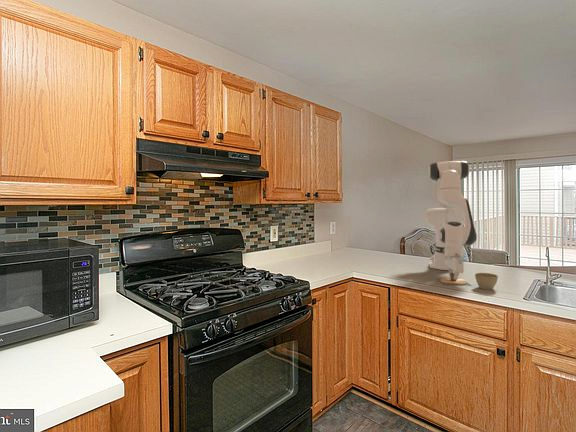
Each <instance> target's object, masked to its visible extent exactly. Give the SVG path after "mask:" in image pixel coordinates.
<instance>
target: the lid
mask: <svg viewBox="0 0 576 432" xmlns="http://www.w3.org/2000/svg"><path fill="white" fill-rule="evenodd" d="M439 279H440V281H441V282H442V283H445V284H450V285H449V286H456V285H465V284H467V283H468V281H467V280H465V279H463V278H458V280H455V279H454V272H453V273H451V276H450V277H443V278H439ZM441 282H440V283H441ZM442 283H441V284H442Z"/></svg>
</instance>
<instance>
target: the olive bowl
mask: <svg viewBox="0 0 576 432" xmlns="http://www.w3.org/2000/svg"><path fill="white" fill-rule="evenodd" d="M474 277H475V281H476V283H477V285H478V287H479V289H481V290H487V291H491V290H493V289H494V287H495V286H496V285H497V282H498V278H499V276H498V274H494V273H491V272H490V273H489V272H477V273H476V272H475V273H474Z"/></svg>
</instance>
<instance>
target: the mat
mask: <svg viewBox="0 0 576 432" xmlns="http://www.w3.org/2000/svg"><path fill="white" fill-rule="evenodd" d="M440 279H441V278H436V280H437V281H438V282H439V283H440V284H442V285H443V286H451V285H450V284H445V283H442V282H441V281H440ZM455 286H459V287H460V286H462V287H463V286H465V287H472V286H473V285H472V284H470V283H469V282H467V284H465V285H455Z"/></svg>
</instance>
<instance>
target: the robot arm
mask: <svg viewBox="0 0 576 432" xmlns="http://www.w3.org/2000/svg"><path fill="white" fill-rule="evenodd" d="M470 171H471V169H470V165H469V163H468V161H466V160H460V161H459V160H449V161H448V160H447V161H441V162H436V161H435V162H432V163H430V165H429V167H428V171H427V172H428V174H427V175H428V176H429V178H430V179H431V180H433V181H435V182H437V188H436V189H437V190H436V192H437V193H436V198H437V200H438V202H440V203H441V204H444V205H446V206H447V207H434V208H433V207H432V208H428V209H427V210H425V211H426V212H425V213H424V220H425V222H426V223H427V224H428V225H430V226H431V228H432V229H433V230H434V232H435V238H436V239H435V241H436V245H435V249H434V250H435V253H434V254H433V255H432V256H430V261H429V262H428V264H429V265H428V266H429V268H431V269H437V270H443V271H448V274H449V275H448V276H450V277H451V273H454V279H455V280H458V279H459V275H460V274H463V273H464V271H465V270H464V269H465V268H464V266H465V265H464V259H463V258H462V257H463V256H464V246H472V245H473V244H474V243H476V241H477V239H478V236H477V231H476V228H475V225H474V224H475V223H474V221H473V220H474V219H473V215H472V210H471V206H470V203H469V201H468V198H466V197H464V196H463V193H462V184H461V180H462V179H466V178H467V177H468V176H469V174H470Z"/></svg>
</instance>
